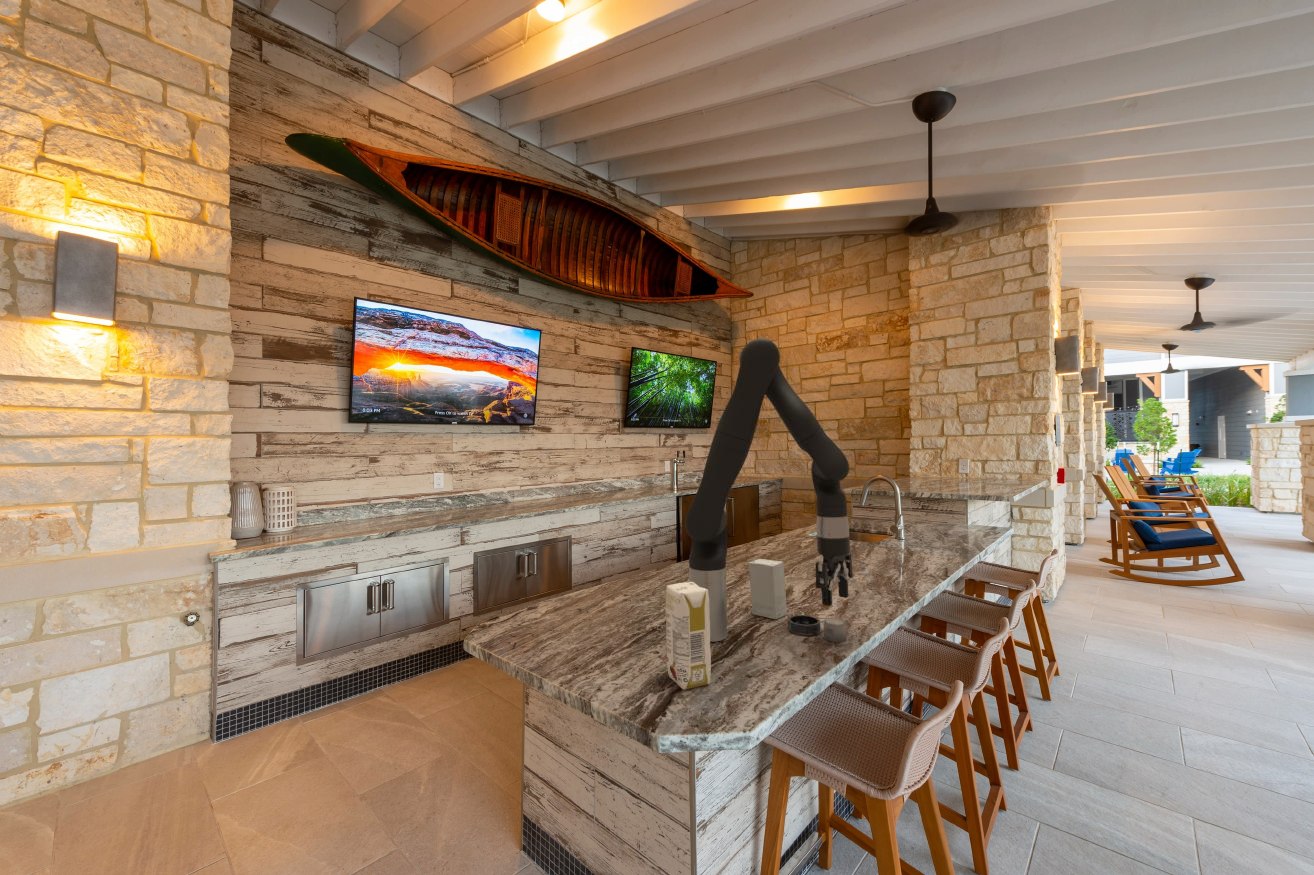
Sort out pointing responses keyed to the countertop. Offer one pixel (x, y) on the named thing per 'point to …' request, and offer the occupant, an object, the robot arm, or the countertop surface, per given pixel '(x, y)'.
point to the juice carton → (688, 634)
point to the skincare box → (768, 588)
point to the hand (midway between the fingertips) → (835, 601)
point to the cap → (835, 630)
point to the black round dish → (804, 625)
